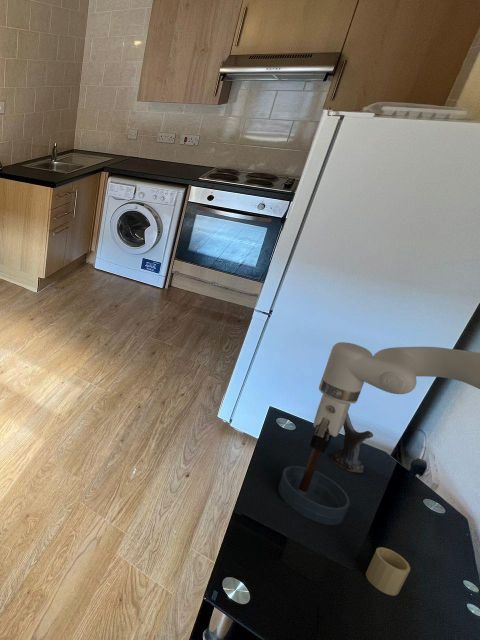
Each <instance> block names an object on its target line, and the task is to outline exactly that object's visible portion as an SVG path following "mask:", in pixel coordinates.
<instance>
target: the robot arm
mask: <svg viewBox="0 0 480 640" xmlns="http://www.w3.org/2000/svg"><path fill="white" fill-rule="evenodd" d="M327 359H328V360H327V362H326V365H325V369H324V371H323V373H322V376H321V377H322V378H321V380H320V383H319V386H318V390H319V392H320V393H321V394H322V396H321V398H320V401H319V404H318V407H317V410H316V413H315V417H314V421H313V425H312V427H313V428H314V429H315V432H314V433H313V434H312V437H311V441H310V443H309V447H310V448H312V449H313V448H314V449H316V450H318V451H320V452H321V453H323V454H325V453H326V451H327V449H328V447H329V445H330V443H331V439H332V438H333V437H334V438H336V437H338V435H339V434H340V432H341V431H342V428H344V426H343V425H344V422H345V419H346V416H347V413H348V414H349V410H350V407H351V404H357V402H358V400H359V397H360V395H361V392H362V389H363V386H364V384H365V383H366V384H368V385H370V386H372V387H375V388H376V389H379V390H381V391H383V392H386V393H390V394H394V395H406V394H409V393H411V392H413V390H415V388H416V386H417V377H427V378H428V377H429V378H430V377H432V378H443V379H450V380H455V381H459V382H461V383H464V384H466V385H469V386H472V387H473V388H476V389H478V390H480V352H477V351H470V350H464V349H463V350H462V349H454V348H448V347H447V348H446V347H439V346H397V347H396V346H395V347H387V348H383V349H380V350H378V351H377V352H375V353H374V354H373V353H372V352H371V351H370V350H369V349H368V348H365V347H364V346H361V345H358V344H355V343H351V342H346V341H341V342H337V343H335V344H334V345H333V346H332V348H331V351H330V354H329V356H328V358H327ZM325 432H326V433H327V435H326V433H325Z"/></svg>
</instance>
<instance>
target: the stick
mask: <svg viewBox="0 0 480 640" xmlns="http://www.w3.org/2000/svg"><path fill="white" fill-rule="evenodd" d="M325 433H326V432H325ZM326 435H327V433H326ZM321 454H322V452H320V451H318V450H316V449H314V448H312V449H311V453H310V455H309V458H308V461H307V464H306V469H305V472H304V475H303V478H302V481H301V483H300V486H299V489H300V490H301V491H303V492H307V490H308V487H309V485H310V482H311V479H312V476H313V474H314V471H316V468H317V466H318V463H319V459H320V457H321Z"/></svg>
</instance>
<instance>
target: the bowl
mask: <svg viewBox="0 0 480 640" xmlns="http://www.w3.org/2000/svg"><path fill="white" fill-rule="evenodd" d="M305 469H306V467H305V466H300V465H289V466H287V467H285V468H284V469H283V471H282V474H281V476H280V480H279V483H278V487H277V489H278V493H279V495H280V497H281V498H282V499H283V501H284V502H285V504H287V505H288V506H289V507H290V508H291V509H292V510H293V511H294V512H297V513H298V514H300V515H301V516H302V517H304V518H306V519H309V520H310V521H313V522H315V523H318V524H322V525H327V526H338V525H341V524H342V523H343V522H344V520H345V518H346V516H347V513H348V510H349V508H350V505H351V500H350V498H349V496H348V495H349V494H348V493H347V492H346V490H344V489H343V488H342V486H341V485H339V484H338V483H337V482H336V481H335V480H333V479H332V478H330V477H328V476H326V475H325V474H323V473H321V472H319V471H317V470H315V471H314V474H313V476H312V479H311V482H310V485H309V487H308V490H307V492H303V491H301V490H300V489H299V486H300V483H301V481H302V478H303V475H304V472H305Z"/></svg>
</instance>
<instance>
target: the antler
mask: <svg viewBox="0 0 480 640" xmlns="http://www.w3.org/2000/svg"><path fill="white" fill-rule="evenodd" d="M343 430H344V431H343V432H344V439H343V448H338V450H337V451H335V453H332V454H331V459H330V460H331V462H332V463H333V464H335V465H337V466H338V467H340V468H342V469H344V470H346V471H348V472H351V473H364V467H365V466H364V465H363V464H362V461H361V460H359V455H360V446H361V444H362V443H363V442H365V441H366V440H367V439H371V438H373V437H374V434H373V432H371V431H370V430H366V431H362V432H358V431H357V430H356V429H355V428H354V426H353V423H352V420H351V418H350V414H349V412H348V413H347V416H346V419H345V422H344V425H343Z"/></svg>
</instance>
